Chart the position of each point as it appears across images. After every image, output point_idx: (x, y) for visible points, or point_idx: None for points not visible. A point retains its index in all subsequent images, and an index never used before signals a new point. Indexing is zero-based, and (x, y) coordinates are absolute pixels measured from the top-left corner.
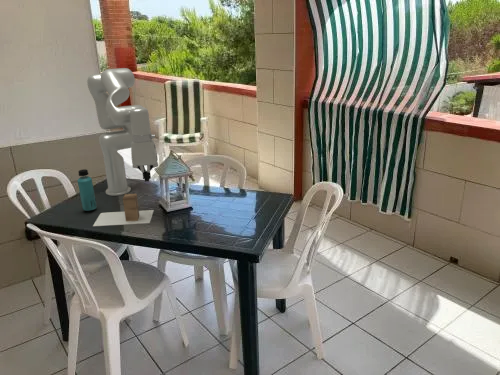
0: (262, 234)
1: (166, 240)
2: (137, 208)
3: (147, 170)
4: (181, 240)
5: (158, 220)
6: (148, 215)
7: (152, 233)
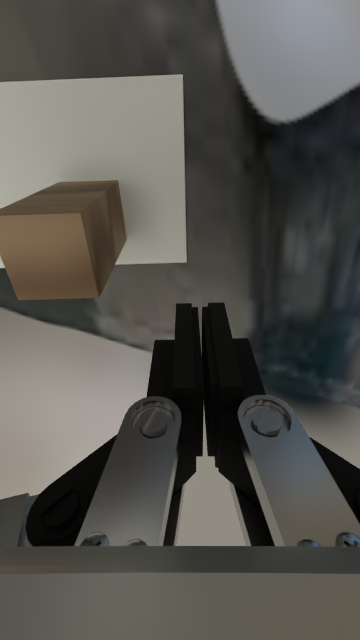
0: None
1: None
2: (111, 222)
3: (239, 487)
4: (300, 380)
5: (221, 229)
6: (164, 171)
7: None
